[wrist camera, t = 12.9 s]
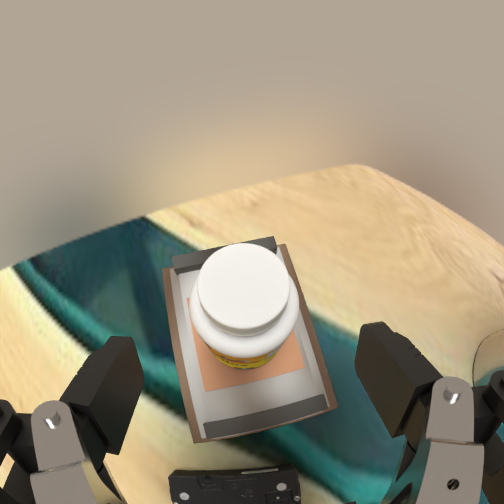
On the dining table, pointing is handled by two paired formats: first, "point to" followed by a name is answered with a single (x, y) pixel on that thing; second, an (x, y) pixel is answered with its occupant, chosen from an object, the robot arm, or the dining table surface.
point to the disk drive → (236, 486)
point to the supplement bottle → (244, 305)
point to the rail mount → (243, 381)
